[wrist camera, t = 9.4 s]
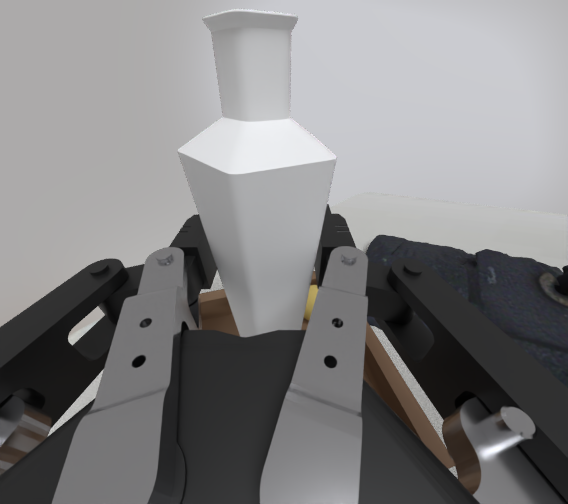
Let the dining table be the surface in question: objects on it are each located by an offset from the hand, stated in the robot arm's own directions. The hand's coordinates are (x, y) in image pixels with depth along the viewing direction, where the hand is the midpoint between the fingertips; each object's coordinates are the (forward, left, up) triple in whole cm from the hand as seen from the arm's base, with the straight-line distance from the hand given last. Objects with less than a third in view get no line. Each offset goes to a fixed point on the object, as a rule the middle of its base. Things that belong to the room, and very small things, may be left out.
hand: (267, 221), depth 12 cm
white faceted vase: (+1, +3, -8) cm, 9 cm away
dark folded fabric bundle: (-20, 0, -13) cm, 24 cm away
